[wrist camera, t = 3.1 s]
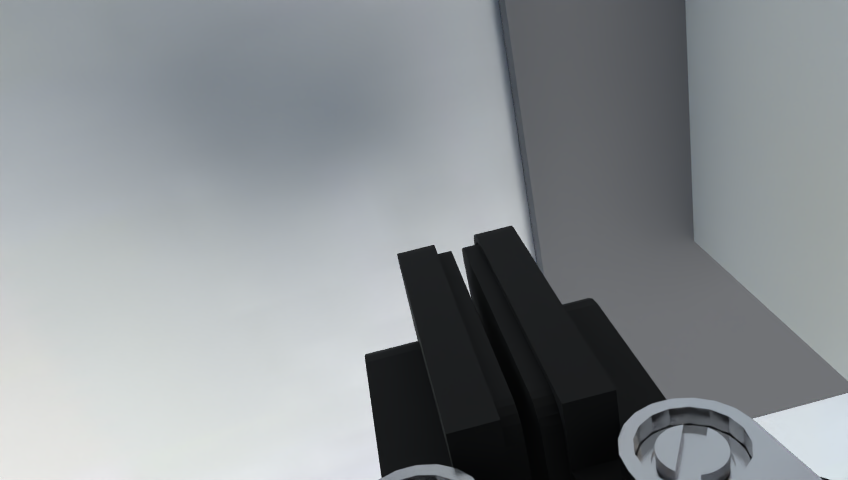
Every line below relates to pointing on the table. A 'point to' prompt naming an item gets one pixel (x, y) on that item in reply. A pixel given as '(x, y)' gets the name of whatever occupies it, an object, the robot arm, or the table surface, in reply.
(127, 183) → the table surface
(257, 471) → the table surface
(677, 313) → the mat
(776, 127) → the tile
